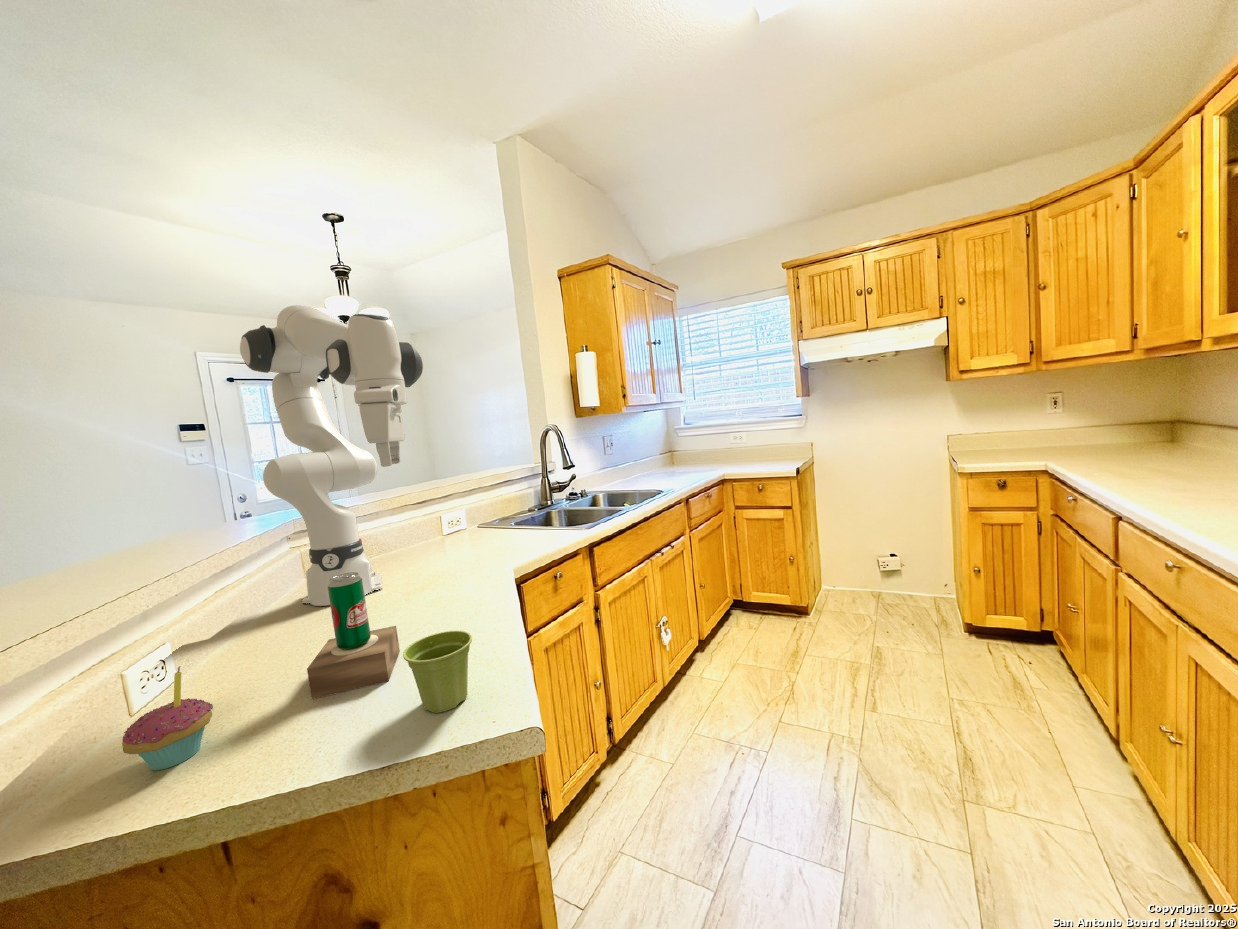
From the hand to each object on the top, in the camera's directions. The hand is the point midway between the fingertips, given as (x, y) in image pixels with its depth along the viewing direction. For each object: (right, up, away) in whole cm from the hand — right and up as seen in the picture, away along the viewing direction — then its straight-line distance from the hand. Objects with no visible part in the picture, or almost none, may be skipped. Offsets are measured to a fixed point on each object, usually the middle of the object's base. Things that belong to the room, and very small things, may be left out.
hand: (391, 464), depth 92 cm
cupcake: (-12, -39, -32) cm, 52 cm away
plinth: (+2, -36, -14) cm, 38 cm away
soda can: (+1, -31, -15) cm, 34 cm away
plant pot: (+21, -35, -25) cm, 48 cm away
